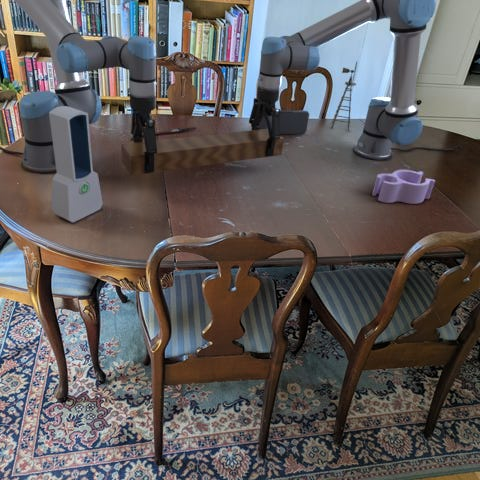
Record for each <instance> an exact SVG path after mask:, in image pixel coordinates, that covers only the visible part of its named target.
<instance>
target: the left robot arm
mask: <svg viewBox="0 0 480 480" xmlns="http://www.w3.org/2000/svg"><path fill="white" fill-rule="evenodd" d="M14 2H15V3H16V4H17V5H18V7H20V9H21V10H22V11H23V12H24V13H25V14H26V15H27V16H28V17H29V19H30V20H31V22H33V24H34V25H35V26H36V27H37V28H38V29H39V31H41V33H42V34H43V35H44V36H45V38H46V41H47V46H48V50H49V54H50V57H51V62H52V66H53V71H54V75H55V78H56V82H57V83H56V85H55V86H54V89H53V90H54V91H51V90H42V91H41V90H37V91H32V92H29V93H26V94H24V95H23V96H22V97H21V98H20V100H19V103H18V104H19V116H20V119H21V126H22V132H23V137H24V148H23V152H21V151H13V150H8V149H6V148H3V147H2V146H0V150H1V151H2V152H4V153H6V154H11V155H17V156H22V158H21V159H22V160H21V161H22V166H23V168H24V169H25V170H27V171H29V172H33V173H39V174H46V173H57V170H56V162H55V155H54V147H53V140H52V132H51V124H50V117H49V112H50V111H52V110H53V109H55V108H57V107H60V106H67V107H71V108H74V109H77V110H80V111H83V112H86V113H88V120H89V125H92V124H95V123H97V122H98V121H99V119H100V117H101V115H102V110H103V109H102V108H103V106H102V105H103V104H102V99H101V97H100V95H98V92H97V90H95V89H93V88H91V83H89V82H88V81H87V80H85V78H84V73H87V72H91V71H98V70H106V69H112V68H122V69H124V70H128V91H129V94H130V95H129V107H130V109H131V114H132V115H131V127H130V134H131V135H132V138H134V139H133V143H135V142H144V143H145V148H146V152H144V154H145V172H146V174H150V173H149V172H153V173H155V172H154V153H157V144H156V140H157V135H156V134H155V133H156V120H155V119H153V116H152V114H151V112H153V111H154V110H155V109H156V108H157V96H156V94H157V87H156V86H158V83H157V74H156V73H157V51H156V50H157V48H156V42H155V40H154V39H153V38H151V37H148V36H142V35H133V36H129V38H128V40H127V39H123V38H121V37H119V36H115V35H114V36H113V35H104V36H103V37H101V39H97V40H96V39H95V40H86V39H85V38H84V37H83V36H82V35H81V34H80V33H79V32H78V30H77V29H76V28H75V27H74V26H73V24H72V21H71V16H70V12H69V11H70V10H69V7H68V1H67V0H14Z"/></svg>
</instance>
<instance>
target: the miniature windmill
mask: <svg viewBox="0 0 480 480" xmlns="http://www.w3.org/2000/svg"><path fill="white" fill-rule="evenodd" d="M357 66H358V61H356V62H355V67H354V69H351V70H350V69H349V68H347V67H343V68H342V71H341V73H342V74H348V73H351V74H350V76H349V80H348V81H344V85H346V86H345V89H344V91H343V94H342V96H341V99H340V101H339V104H338V106H337V109H336V111H335V114H334V115H333V119H332V120H331V124H332V125H331V129H333V128H334V126H335V123H336V122H341V123H347V131H350V124H351V109H352V107H351V106H352V105H351V104H352V91H353V89H352V87H355V86H357V83H356V82H354V80H355V75H356V70H357ZM347 92H349V96H346V94H347ZM344 101H346V102H347V101H348V102H349V103H348V105H342V104H343V102H344ZM341 107H342V108H341ZM344 108H347V109H344ZM340 111H345V112H348V116H344V115H339V112H340ZM337 118H345V119H348V120H347V121H346V120H345V121H344V120H338V119H337Z"/></svg>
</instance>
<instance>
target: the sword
mask: <svg viewBox="0 0 480 480" xmlns="http://www.w3.org/2000/svg"><path fill="white" fill-rule="evenodd" d="M188 130H189V131H190V130H197V127H196V126H190V127H184V128H183V127H182V128H180V127H178V128H176V129H170V130H163V131H158V132H157V131H156V132H155V134H156V136H157V135H160V134H161V135H163V134H169V133H176V132H177V133H178V132H179V133H180V132H182V131H188ZM131 140H133V141H134V138H133V137H132V138H130V141H131Z"/></svg>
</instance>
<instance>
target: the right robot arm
mask: <svg viewBox="0 0 480 480" xmlns="http://www.w3.org/2000/svg"><path fill="white" fill-rule="evenodd" d="M436 4H437V3H436V0H359V1H356V2H355V3H353V4H351V5H349V6H347V7H344V8H343V9H341V10H339V11H337V12H335V13H333V14H331V15H329V16H327V17H325V18H324V19H321V20H320V21H319V20H318V22H315V23H314V24H311V25H309V26H308V27H305V28H304V29H302V30H300V31H298V32H296V33H295V32H294V33H293V34H291V35H281V36H280V37H279V36H265V38H263V40H262V45H261V50H260V61H259V62H260V63H259V73H258V79H257V80H258V82H257V85H258V87H257V89H256V91H257V92H256V97H254V98H253V103H252V108H251V112H250V115H249V119H248V123H249V124H250V127H251V130H259V129H260V128H259V127H258V126H259V124H260V122H261V120H262V118H263V116H265V119H266V120H267V126H268V133H269V138H268V139H267V147H266V155H265V156H266V157H265V158H269V157H268V156H271V157H274V156H273V152H274V147H275V141H276V139H280V136H281V134H280V112H281V110H282V109H280V108H276V107H277V106H276V103H277V102H278V101H279V99H280V94H281V93H280V92H281V90H280V88H281V86H282V77H283V71H284V70H285V71H305V72H307V71H315V70H317V69H318V67H319V65H320V62H321V51H320V49H319V48H320V47H321V46H324V45H325V44H327V43H329V42H331V41H333V40H335V39H337V38H340V37H341V36H343V35H346V34H347V33H349V32H352V31H353V30H356V29H358V28H359V27H361V26H363V25H366V24H367V23H370V24H374V23H376V22H379V21H381V20H389V33H391V34H392V36H393V45H392V47H393V48H392V63H391V79H390V95H389V97H386V96H385V97H384V96H380V97H379V96H377V97H376V96H375V97H373V98H371V100H370V101H369V104H368V106H367V107H368V108H367V113H366V117H365V121H364V125H363V128H362V129H363V130H362V133H361V135H360V136H359V138H358V139H357V141H356V143H355V145H354V148H353V151H354V153H355V154H357V155H358V156H360V157H362V158H365V159H369V160H373V161H374V160H375V161H385V160H390V158H391V156H392V152H393V150H394V151H399V152H408V151H412V150H415V149H416V150H417V149H418V150H419V149H420V150H429V151H440V152H441V151H444V152H446V151H447V152H451V151H456V150H457V149H460V150H462V149H463V148H462V146H461V147H459V148H456V149H453V148H435V147H427V146H412V147H409V148H398V147H392V143H393V144H396V145H397V146H401V147H404V146H405V147H406V146H409V145H410V144H412V143H414V142H415V141H416V140H417V139H418V138H419V137H420V136H421V133H422V132H423V126H424V125H423V122H422V119H420V118H419V117H418V115H419V105H417V104H416V103H415V100H416V89H417V79H418V68H419V57H420V49H421V48H420V47H421V46H420V45H421V36H422V34H423V33H424V32H425V30H426V29H427V24H428V23H430V22H431V18H433V16H434V15H435V12H436ZM271 115H272V116H271Z"/></svg>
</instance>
